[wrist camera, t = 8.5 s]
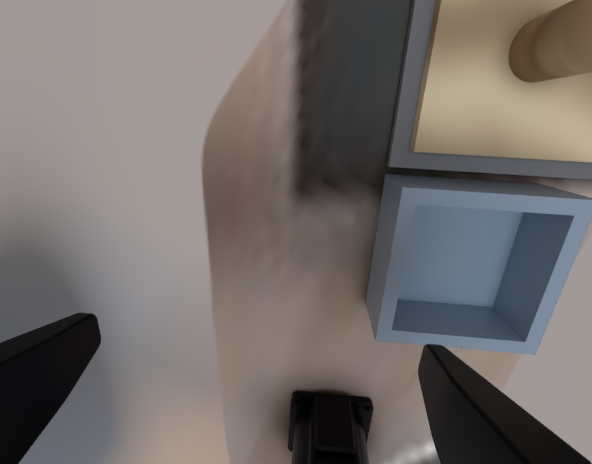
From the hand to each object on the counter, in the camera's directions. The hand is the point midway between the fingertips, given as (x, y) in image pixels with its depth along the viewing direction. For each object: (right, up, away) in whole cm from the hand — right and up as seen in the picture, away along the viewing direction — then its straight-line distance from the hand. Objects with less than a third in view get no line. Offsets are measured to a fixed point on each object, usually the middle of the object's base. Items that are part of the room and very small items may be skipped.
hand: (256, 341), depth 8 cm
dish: (+11, +2, +11) cm, 16 cm away
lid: (+13, +12, +7) cm, 19 cm away
